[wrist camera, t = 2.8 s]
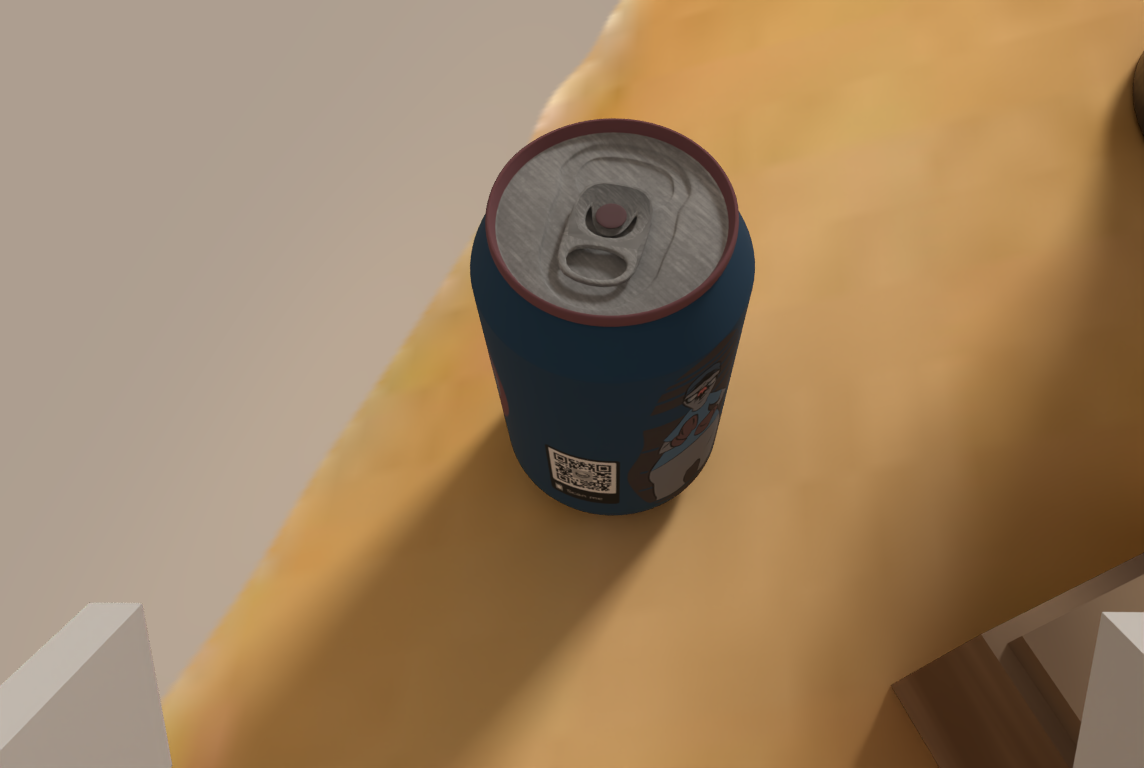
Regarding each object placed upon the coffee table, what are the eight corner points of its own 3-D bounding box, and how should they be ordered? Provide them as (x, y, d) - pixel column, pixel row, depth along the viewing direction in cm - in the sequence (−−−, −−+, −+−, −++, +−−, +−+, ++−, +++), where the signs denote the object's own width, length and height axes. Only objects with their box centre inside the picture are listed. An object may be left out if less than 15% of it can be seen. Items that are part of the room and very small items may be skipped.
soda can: (545, 328, 32) (512, 77, 22) (730, 370, 31) (791, 126, 20) (486, 499, 29) (412, 304, 19) (688, 552, 28) (733, 377, 17)
